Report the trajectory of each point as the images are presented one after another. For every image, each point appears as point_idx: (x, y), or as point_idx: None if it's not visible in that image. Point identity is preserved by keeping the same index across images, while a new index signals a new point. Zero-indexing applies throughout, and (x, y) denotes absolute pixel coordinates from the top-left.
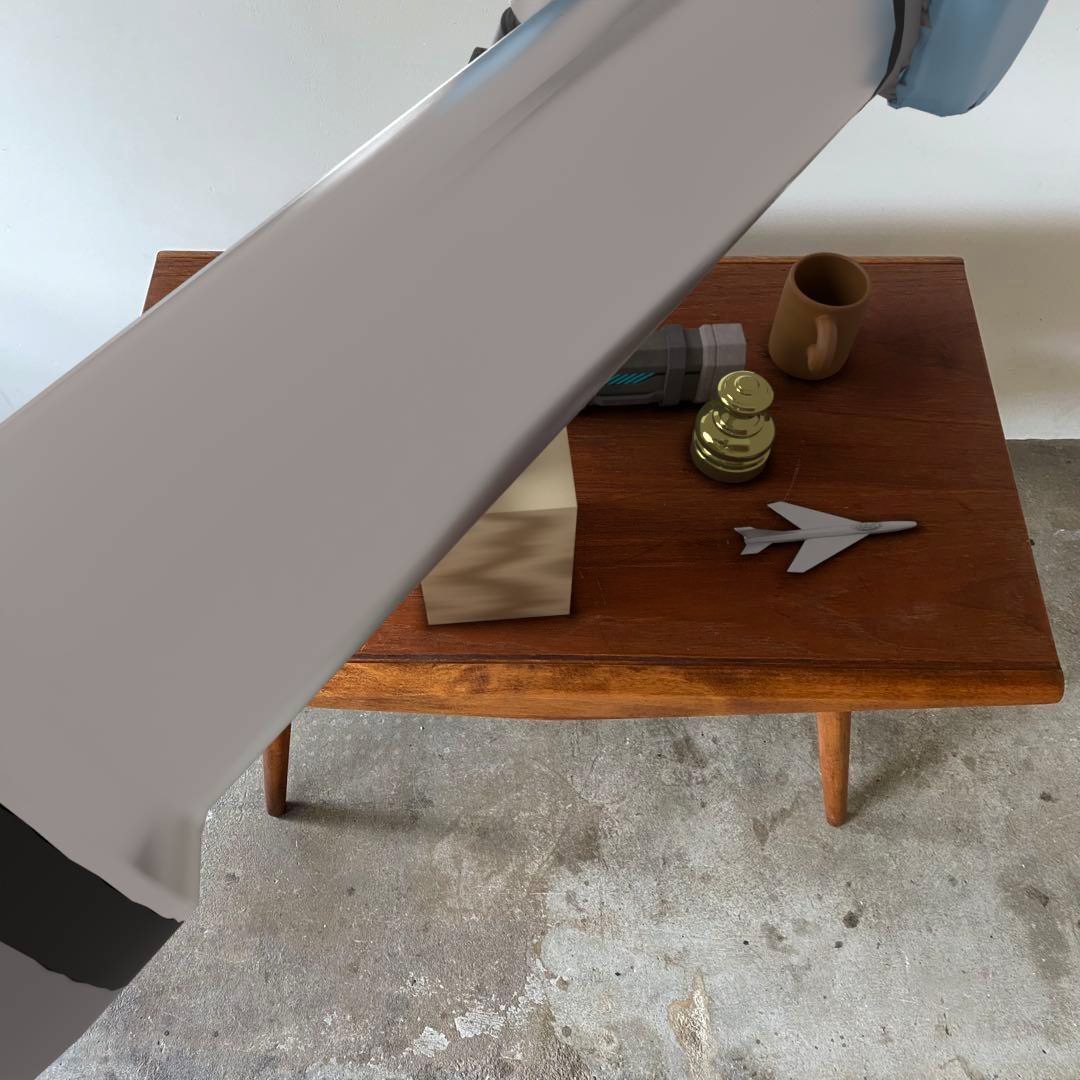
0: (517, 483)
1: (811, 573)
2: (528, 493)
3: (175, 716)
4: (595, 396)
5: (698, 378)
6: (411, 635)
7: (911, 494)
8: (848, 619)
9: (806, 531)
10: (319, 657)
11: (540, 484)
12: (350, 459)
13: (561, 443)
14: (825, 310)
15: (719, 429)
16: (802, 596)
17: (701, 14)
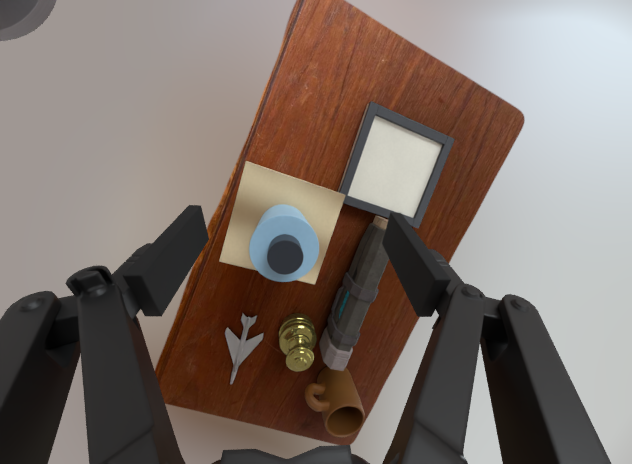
0: (248, 234)
1: (224, 335)
2: (238, 238)
3: None
4: (342, 288)
5: (329, 336)
6: (256, 159)
7: (247, 386)
8: (198, 339)
9: (242, 342)
10: None
11: (243, 247)
12: None
13: None
14: (329, 411)
15: (295, 335)
16: (215, 327)
17: None
